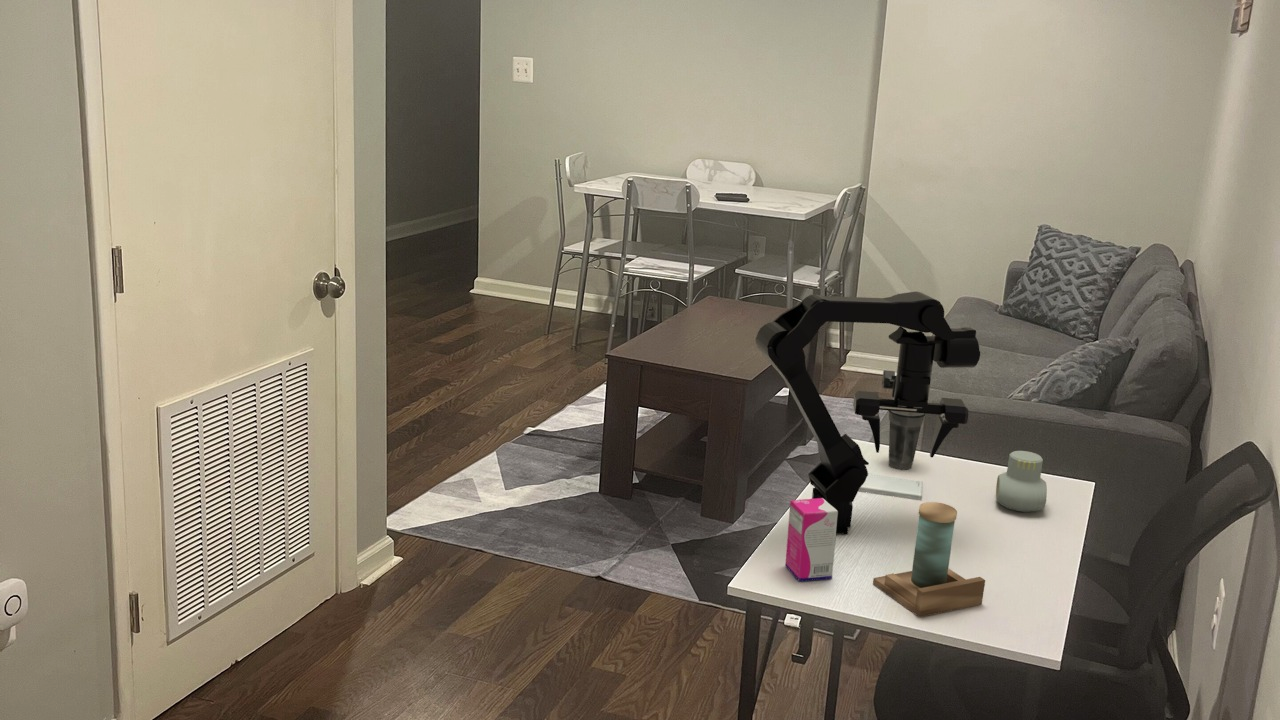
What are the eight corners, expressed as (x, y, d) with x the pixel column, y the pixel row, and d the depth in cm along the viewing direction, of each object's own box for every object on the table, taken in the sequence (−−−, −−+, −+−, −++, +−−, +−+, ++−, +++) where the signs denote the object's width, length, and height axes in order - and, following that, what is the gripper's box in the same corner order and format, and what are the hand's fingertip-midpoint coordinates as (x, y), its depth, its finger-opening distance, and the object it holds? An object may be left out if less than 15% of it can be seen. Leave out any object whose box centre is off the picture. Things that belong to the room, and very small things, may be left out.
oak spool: (905, 590, 168) (915, 511, 164) (914, 576, 173) (924, 499, 169) (941, 600, 165) (952, 519, 162) (949, 585, 170) (960, 507, 167)
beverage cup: (874, 464, 223) (885, 369, 218) (894, 457, 228) (906, 363, 223) (905, 475, 218) (917, 378, 213) (925, 467, 223) (937, 372, 218)
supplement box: (817, 563, 178) (824, 496, 175) (832, 579, 172) (839, 511, 169) (783, 565, 176) (789, 498, 173) (798, 582, 171) (804, 513, 168)
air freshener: (1044, 520, 200) (1052, 468, 197) (996, 513, 202) (1004, 462, 199) (1039, 499, 210) (1047, 449, 207) (994, 492, 212) (1001, 443, 209)
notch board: (872, 583, 172) (875, 560, 171) (933, 572, 177) (936, 549, 176) (919, 617, 162) (922, 592, 161) (981, 604, 167) (985, 580, 166)
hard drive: (922, 480, 213) (857, 470, 216) (921, 495, 206) (854, 485, 209) (921, 488, 214) (856, 478, 217) (920, 503, 206) (853, 493, 209)
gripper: (963, 359, 194) (952, 443, 198) (855, 351, 196) (846, 434, 200) (974, 377, 183) (962, 465, 188) (860, 367, 185) (850, 455, 189)
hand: (904, 454), depth 191 cm, fingers open, 9 cm apart
